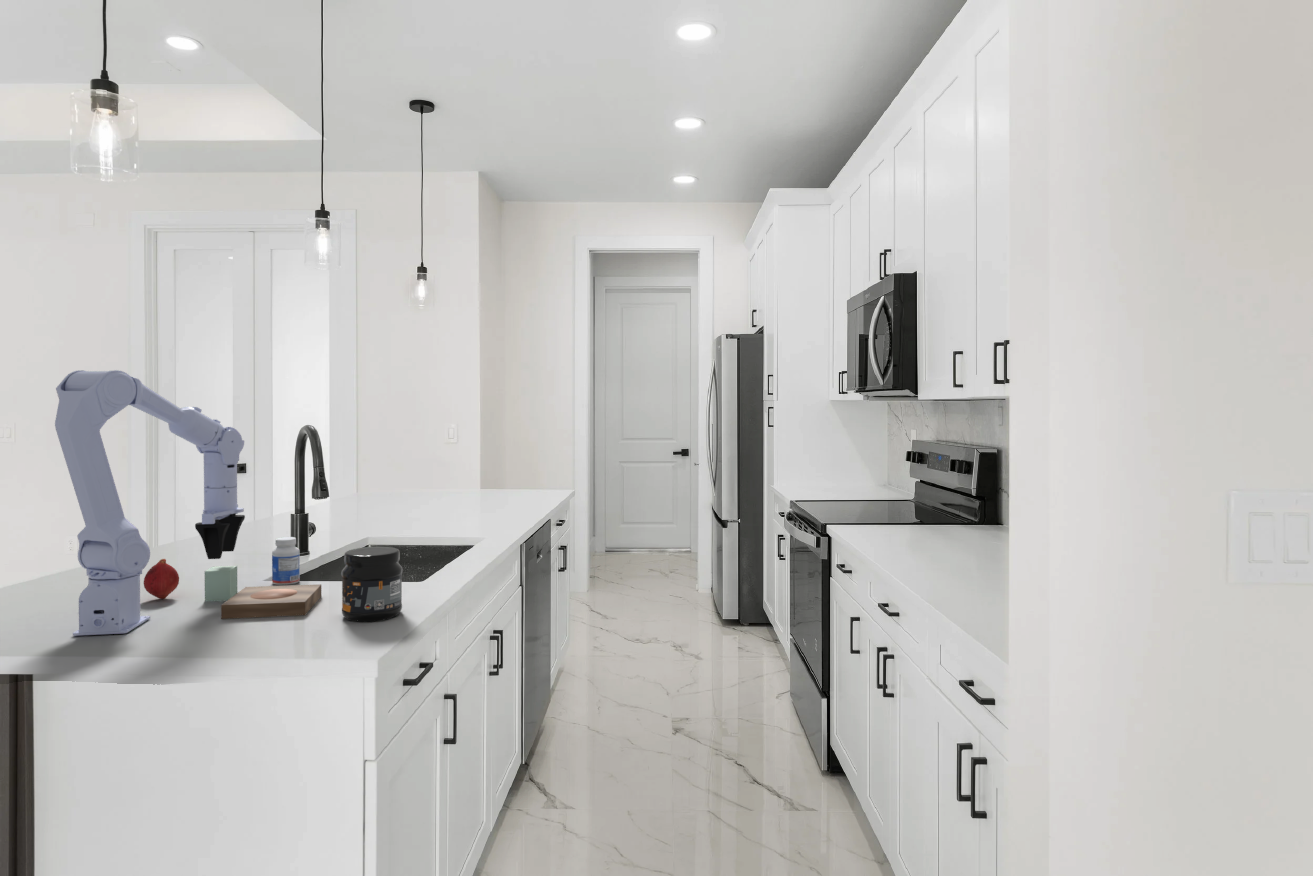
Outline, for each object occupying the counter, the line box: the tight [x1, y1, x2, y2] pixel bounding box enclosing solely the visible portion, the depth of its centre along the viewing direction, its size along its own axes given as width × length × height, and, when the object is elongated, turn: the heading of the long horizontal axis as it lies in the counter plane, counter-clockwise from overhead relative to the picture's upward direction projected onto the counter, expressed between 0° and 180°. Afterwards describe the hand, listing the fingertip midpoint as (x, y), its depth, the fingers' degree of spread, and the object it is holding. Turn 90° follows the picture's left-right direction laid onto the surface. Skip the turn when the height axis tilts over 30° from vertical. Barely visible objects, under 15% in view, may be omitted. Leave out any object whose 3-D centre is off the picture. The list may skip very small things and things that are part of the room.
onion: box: [143, 558, 180, 600], centre depth 148 cm, size 6×6×8 cm
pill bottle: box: [271, 536, 301, 586], centre depth 163 cm, size 6×5×10 cm
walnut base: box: [220, 583, 322, 620], centre depth 143 cm, size 14×14×3 cm
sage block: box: [204, 565, 238, 602], centre depth 149 cm, size 4×4×6 cm
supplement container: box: [340, 546, 403, 623], centre depth 138 cm, size 10×10×12 cm
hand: (221, 554), depth 149 cm, fingers open, 7 cm apart
